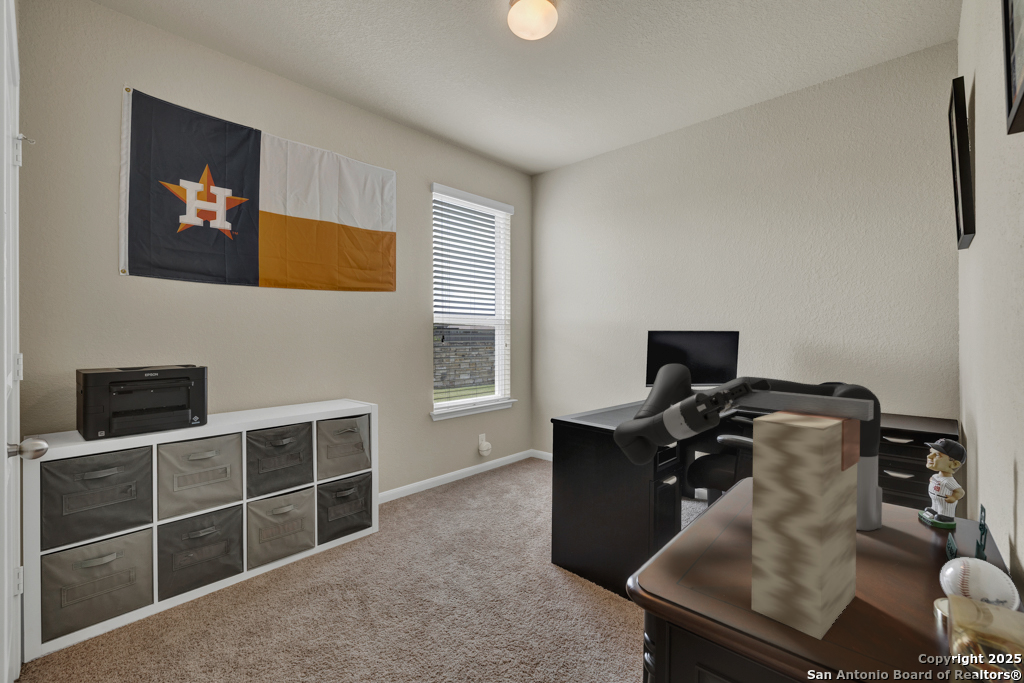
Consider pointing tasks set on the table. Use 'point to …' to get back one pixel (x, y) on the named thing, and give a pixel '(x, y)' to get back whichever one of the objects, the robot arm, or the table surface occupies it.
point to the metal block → (809, 404)
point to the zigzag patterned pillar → (804, 518)
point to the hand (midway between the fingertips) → (759, 385)
